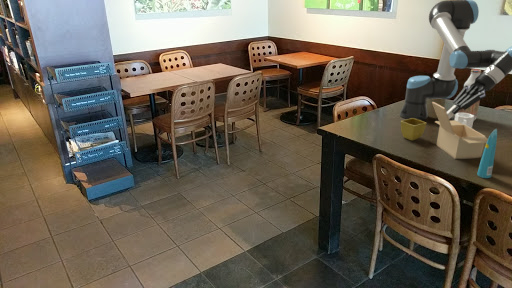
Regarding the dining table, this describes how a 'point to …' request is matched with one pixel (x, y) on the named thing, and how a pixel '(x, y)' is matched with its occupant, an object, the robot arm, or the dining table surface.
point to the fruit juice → (471, 80)
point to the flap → (443, 118)
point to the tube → (488, 156)
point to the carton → (461, 141)
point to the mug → (465, 119)
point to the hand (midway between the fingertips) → (445, 117)
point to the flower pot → (412, 128)
